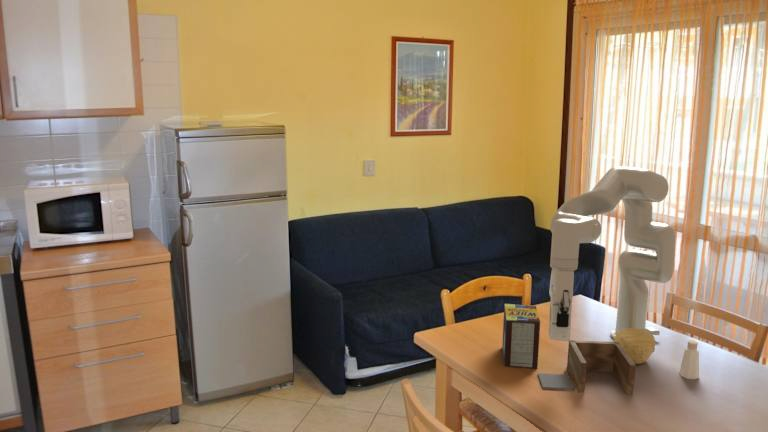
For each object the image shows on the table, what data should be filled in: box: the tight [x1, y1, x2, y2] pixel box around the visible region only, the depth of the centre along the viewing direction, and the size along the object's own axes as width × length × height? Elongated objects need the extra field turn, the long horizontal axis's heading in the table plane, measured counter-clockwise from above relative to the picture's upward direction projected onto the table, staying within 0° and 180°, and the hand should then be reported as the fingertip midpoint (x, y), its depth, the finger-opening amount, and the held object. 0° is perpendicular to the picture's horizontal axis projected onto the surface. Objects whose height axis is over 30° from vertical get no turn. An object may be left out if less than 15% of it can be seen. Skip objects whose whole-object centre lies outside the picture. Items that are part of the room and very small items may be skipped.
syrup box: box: [548, 289, 573, 342], centre depth 178 cm, size 6×6×14 cm
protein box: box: [501, 303, 541, 369], centre depth 198 cm, size 10×15×16 cm
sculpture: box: [612, 328, 657, 365], centre depth 198 cm, size 12×12×11 cm
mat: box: [537, 372, 576, 391], centre depth 182 cm, size 9×9×1 cm
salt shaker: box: [678, 339, 700, 380], centre depth 187 cm, size 5×5×11 cm
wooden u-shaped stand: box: [566, 339, 637, 396], centre depth 183 cm, size 15×16×9 cm
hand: (559, 321), depth 179 cm, fingers closed on syrup box, 6 cm apart
